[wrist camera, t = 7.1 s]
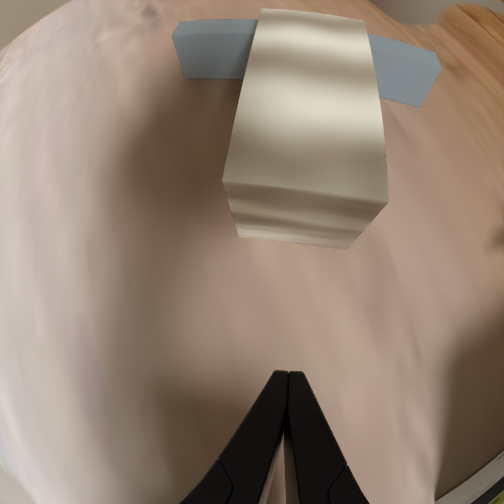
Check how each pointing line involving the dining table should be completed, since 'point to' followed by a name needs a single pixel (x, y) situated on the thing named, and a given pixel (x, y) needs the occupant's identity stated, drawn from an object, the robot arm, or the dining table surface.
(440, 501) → the tea box
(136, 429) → the dining table surface
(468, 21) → the dining table surface
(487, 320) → the dining table surface
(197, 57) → the board
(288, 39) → the block
